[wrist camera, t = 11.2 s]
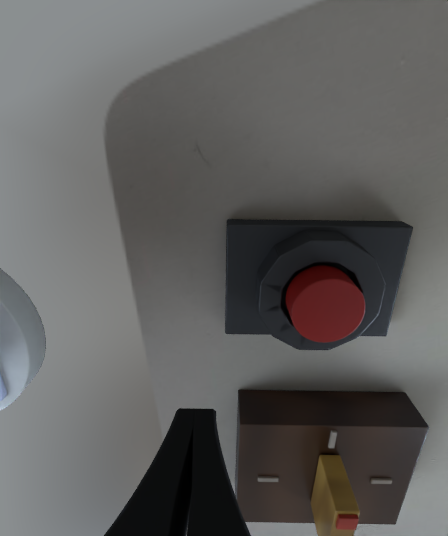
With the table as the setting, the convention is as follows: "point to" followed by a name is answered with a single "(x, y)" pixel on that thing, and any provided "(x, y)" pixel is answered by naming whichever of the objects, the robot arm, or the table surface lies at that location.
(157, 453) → the robot arm
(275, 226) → the dark grey button mount
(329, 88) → the table surface
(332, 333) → the bell button
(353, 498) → the yellow rectangular block
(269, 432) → the plate
